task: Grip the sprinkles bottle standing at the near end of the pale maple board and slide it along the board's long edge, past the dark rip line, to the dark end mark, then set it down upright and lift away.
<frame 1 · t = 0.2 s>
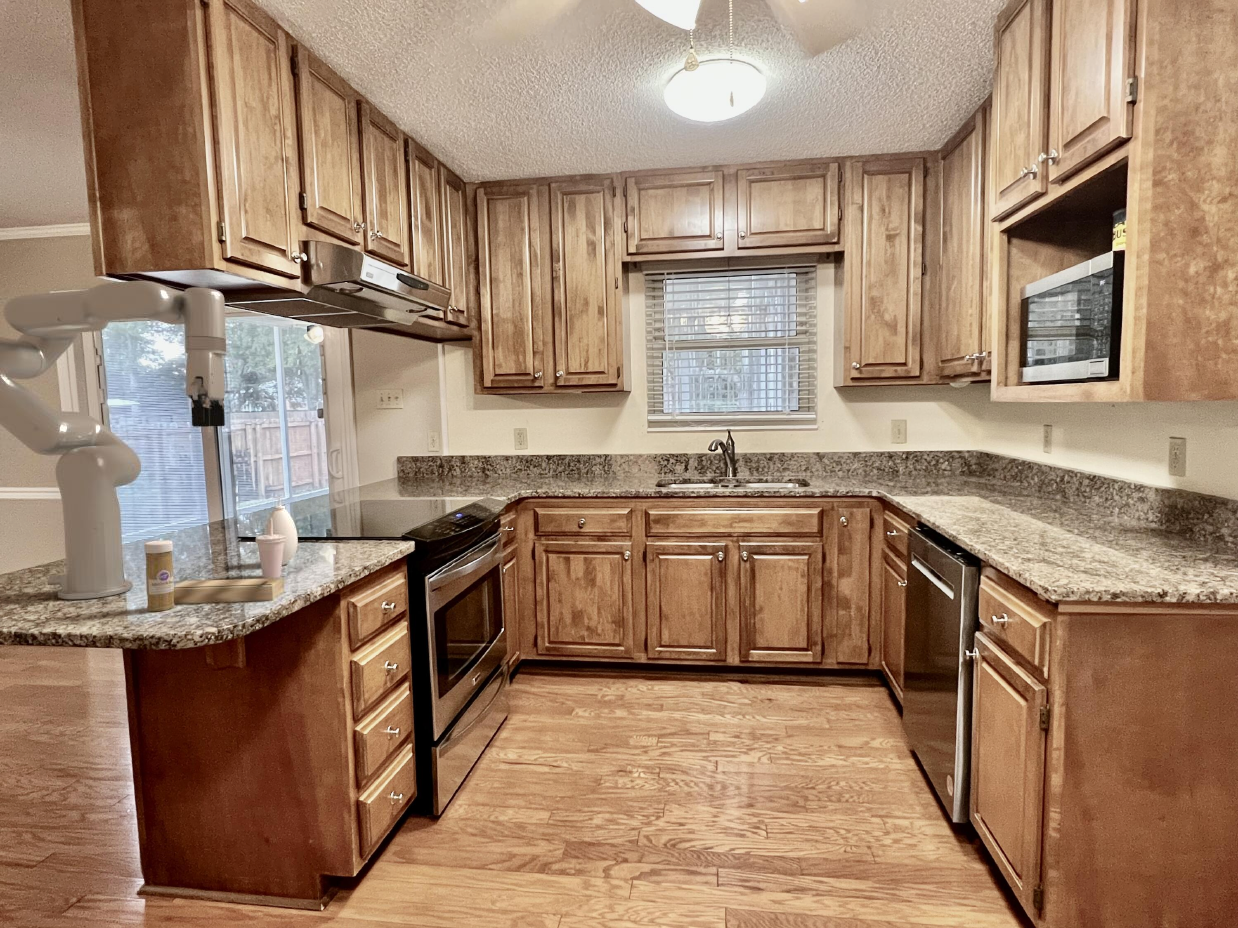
hand: (209, 426, 141), 36 cm above the counter, tool pointing down, fingers open, 9 cm apart
maple board: (227, 597, 137), on the counter
sauce bottle: (281, 565, 168), on the counter
sprinkles bottle: (161, 609, 129), on the counter
smoothie: (271, 577, 156), on the counter
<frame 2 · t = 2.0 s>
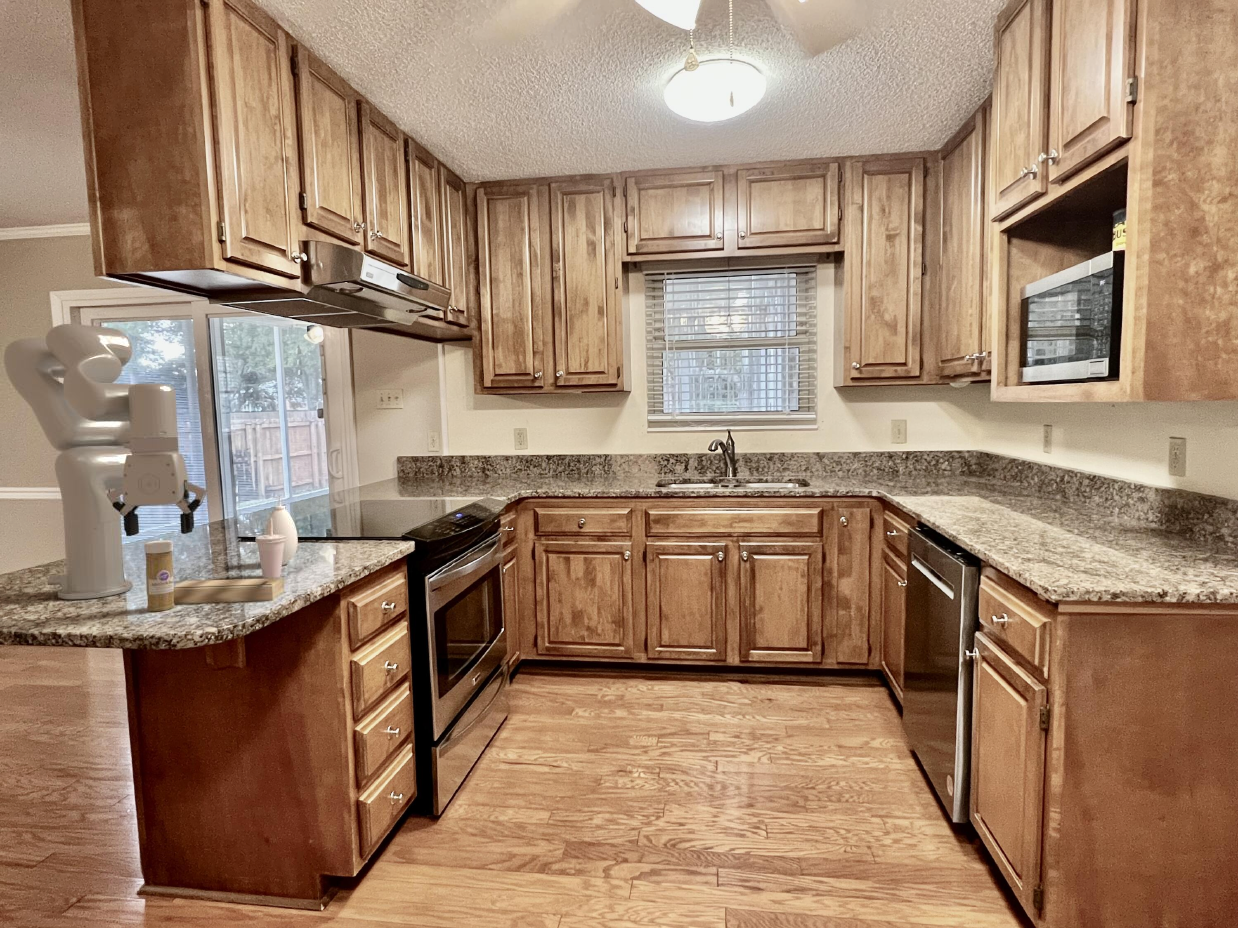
hand: (160, 533, 127), 15 cm above the counter, tool pointing down, fingers open, 9 cm apart
nothing on the counter moved.
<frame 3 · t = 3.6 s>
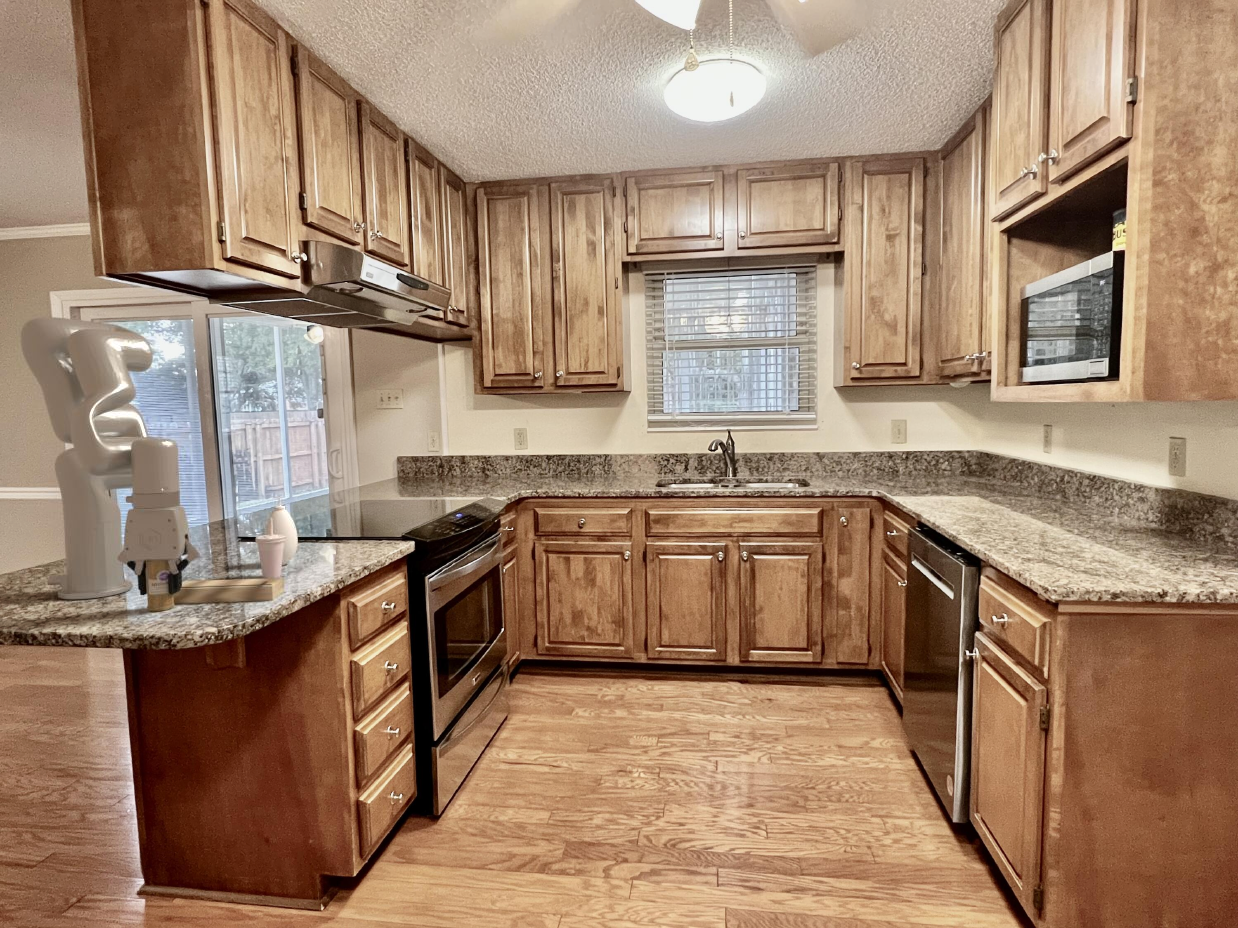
hand: (160, 591, 128), 3 cm above the counter, tool pointing down, fingers closed on sprinkles bottle, 4 cm apart
sprinkles bottle: (161, 609, 129), on the counter, touching gripper
everything else where it was.
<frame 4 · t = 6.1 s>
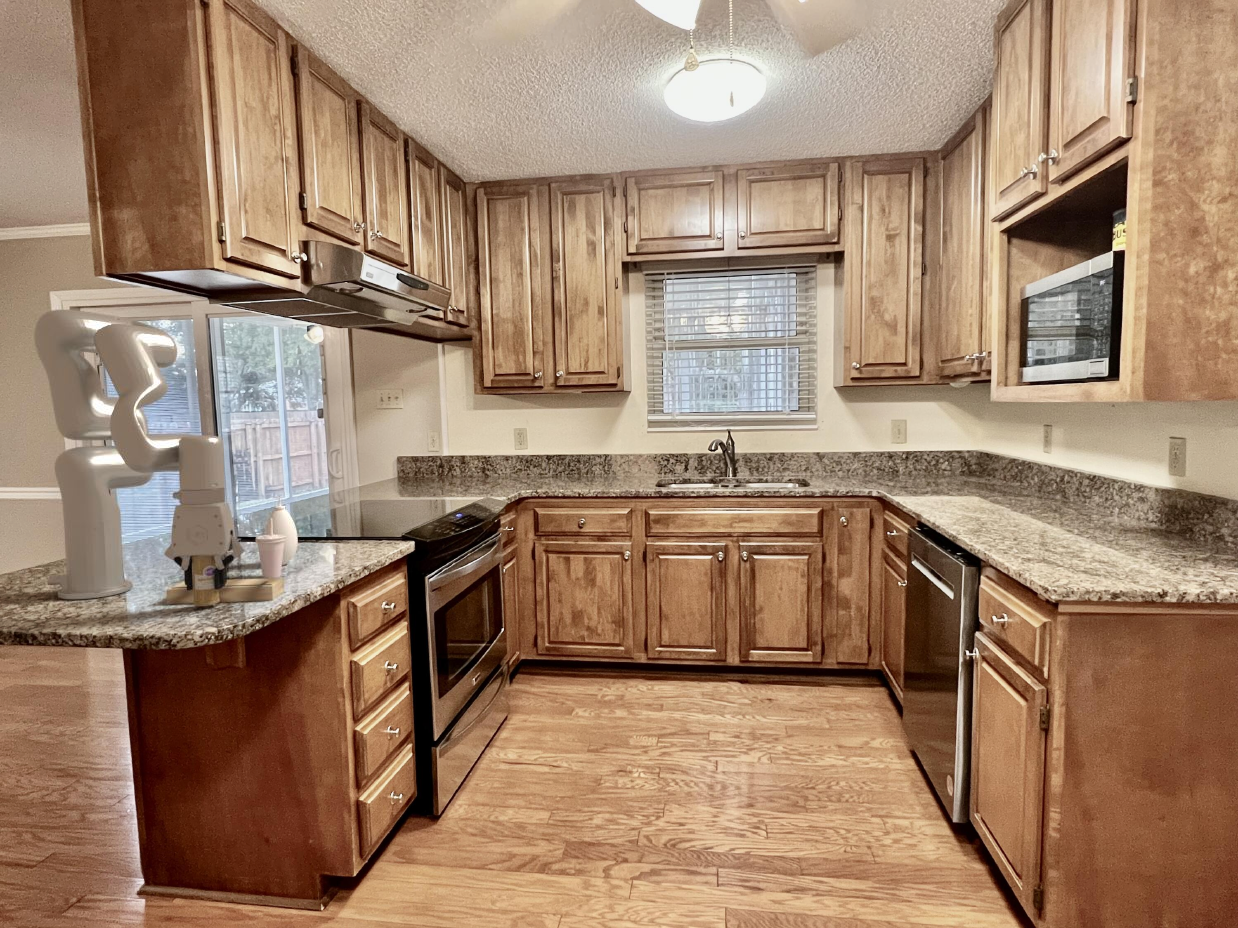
hand: (206, 587, 130), 4 cm above the counter, tool pointing down, fingers closed on sprinkles bottle, 4 cm apart
sprinkles bottle: (206, 604, 130), on the counter, touching gripper
everything else where it was.
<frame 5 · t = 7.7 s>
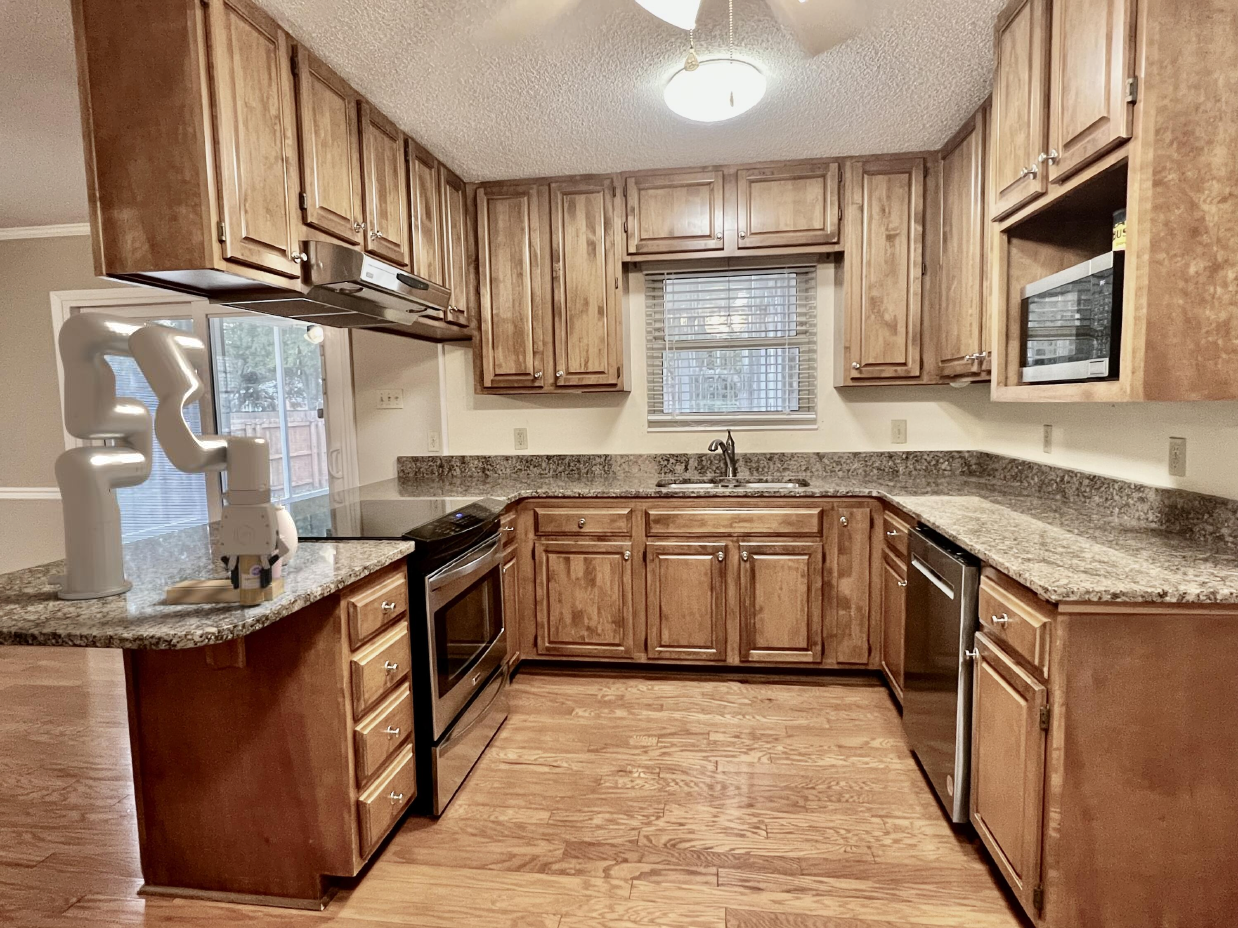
hand: (251, 586, 131), 4 cm above the counter, tool pointing down, fingers closed on sprinkles bottle, 4 cm apart
sprinkles bottle: (252, 603, 131), on the counter, touching gripper
everything else where it was.
when the fingers open (3 cm above the counter, at t = 8.7 s): sprinkles bottle stays where it is, on the counter.
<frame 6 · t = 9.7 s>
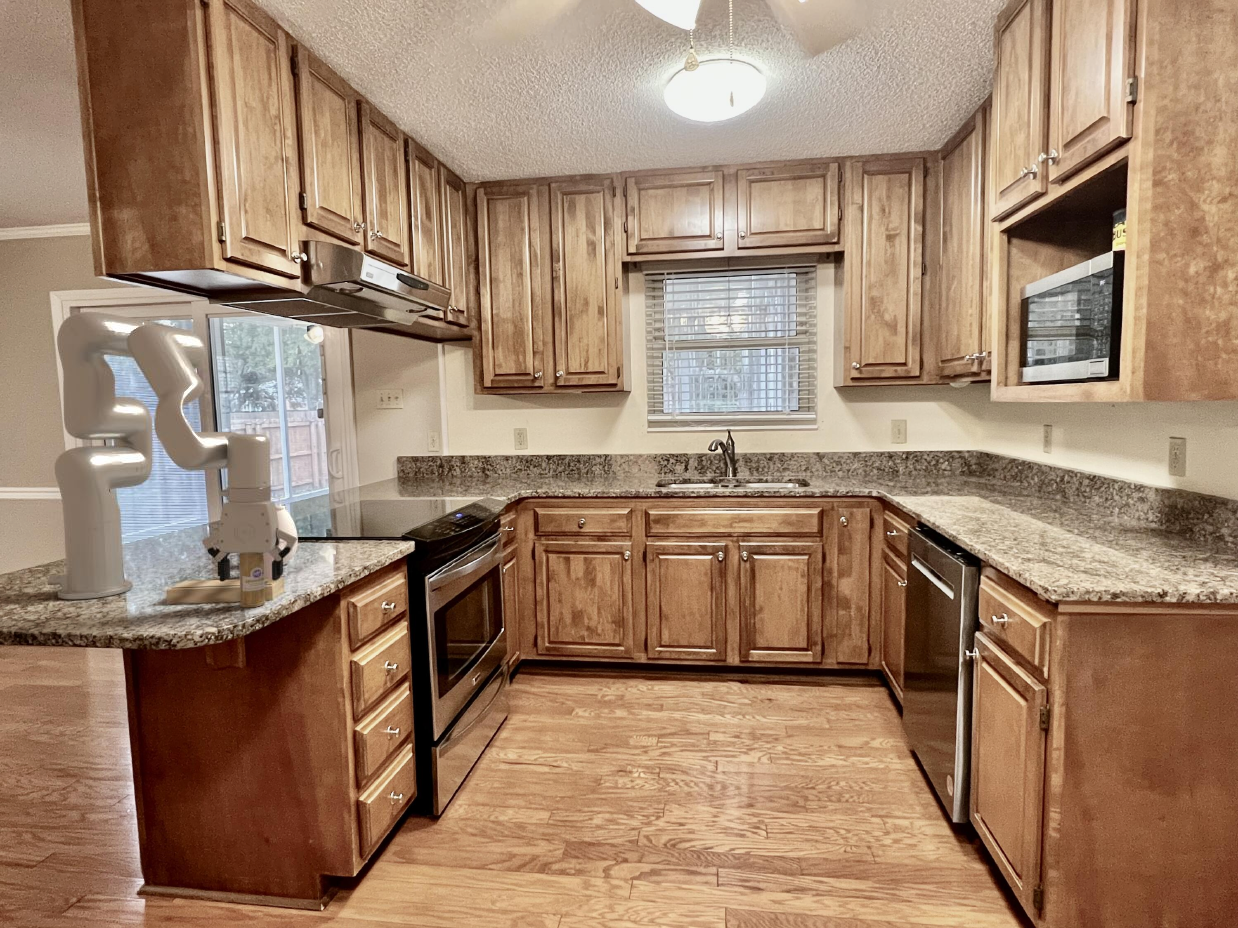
hand: (251, 579, 131), 5 cm above the counter, tool pointing down, fingers open, 9 cm apart
sprinkles bottle: (253, 606, 131), on the counter
everything else where it was.
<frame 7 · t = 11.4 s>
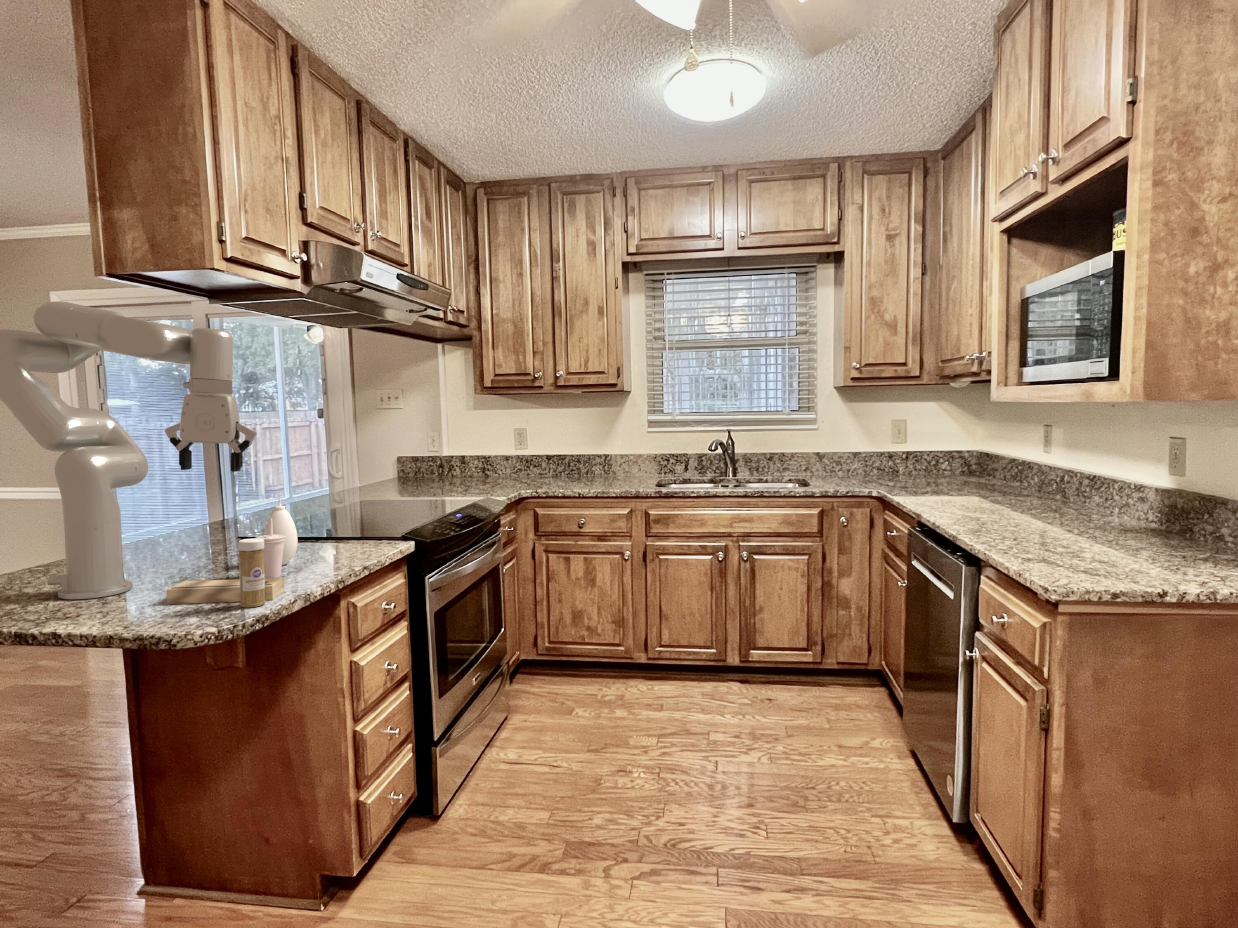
hand: (211, 470, 137), 27 cm above the counter, tool pointing down, fingers open, 9 cm apart
nothing on the counter moved.
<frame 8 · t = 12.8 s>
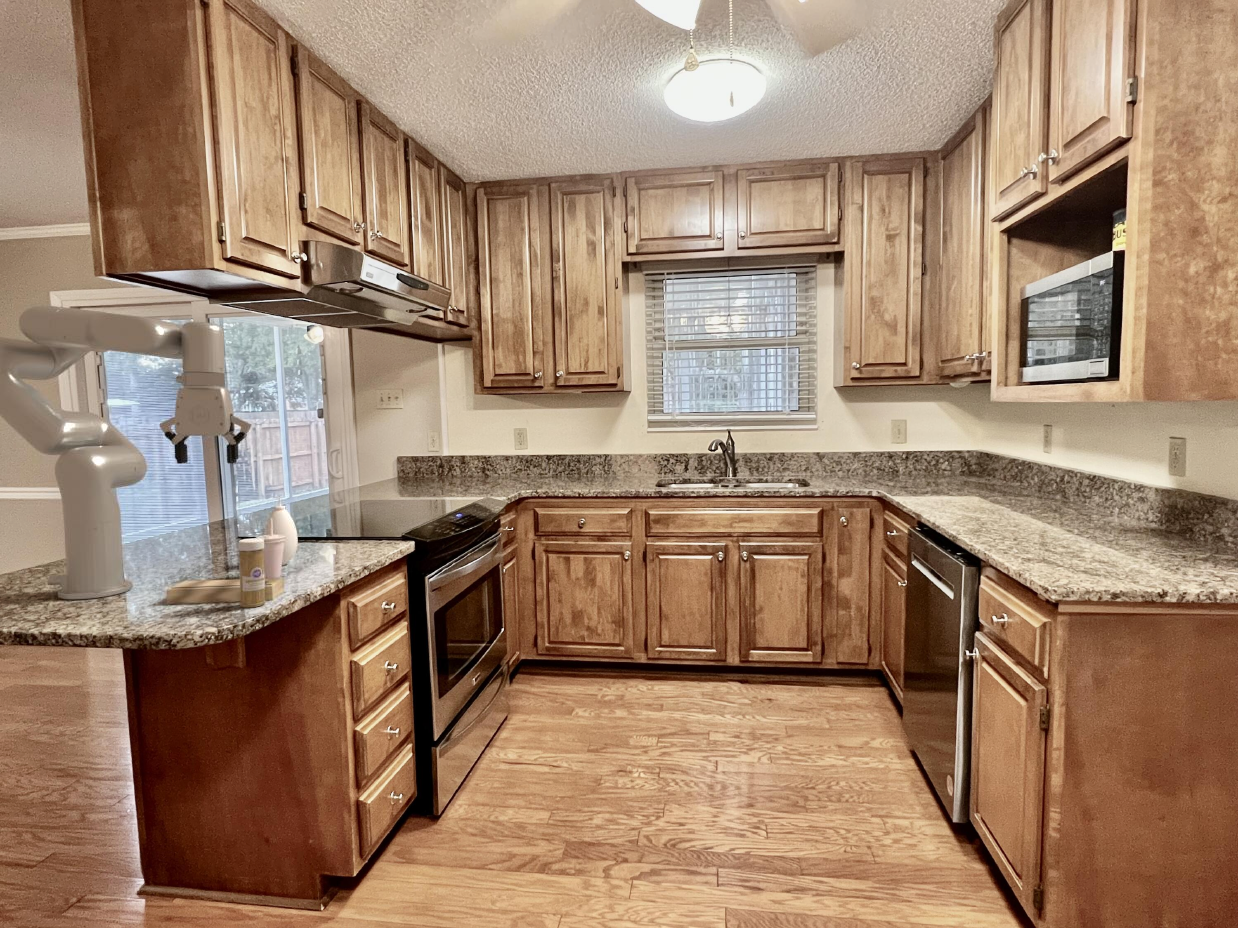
hand: (207, 463, 138), 28 cm above the counter, tool pointing down, fingers open, 9 cm apart
nothing on the counter moved.
at the end: sprinkles bottle 0.2 cm from the target spot, on the counter; sprinkles bottle tilted 0°; the gripper is holding nothing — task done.
